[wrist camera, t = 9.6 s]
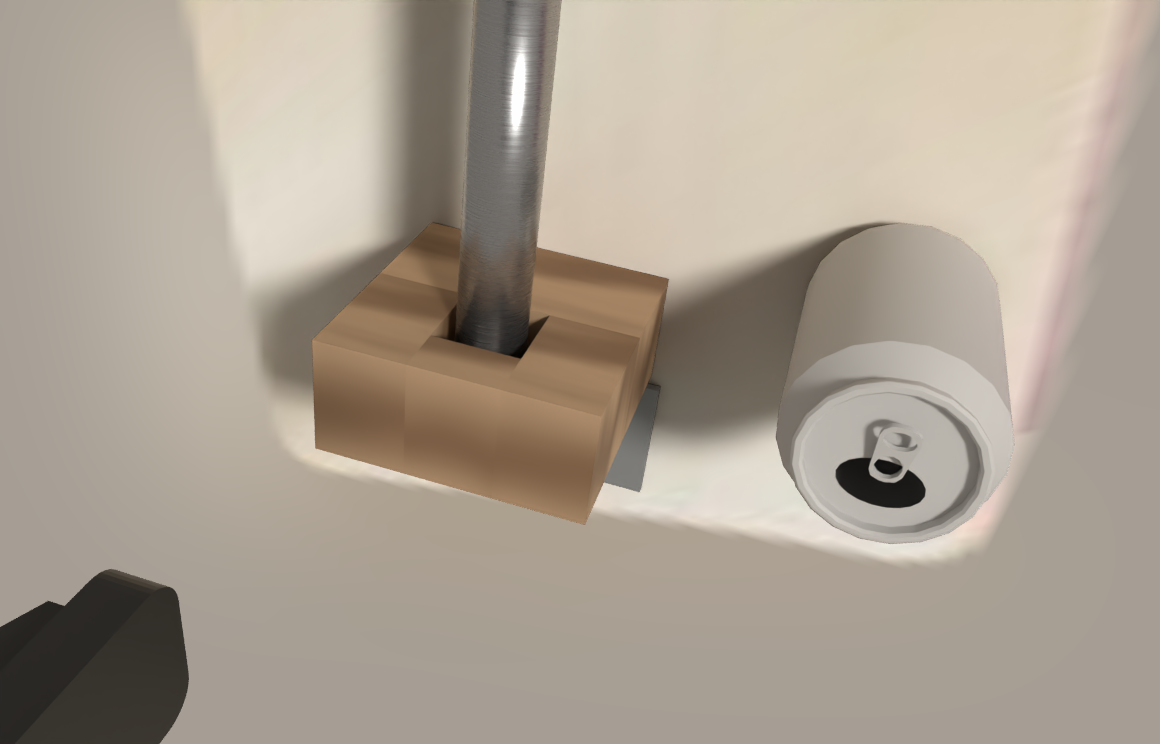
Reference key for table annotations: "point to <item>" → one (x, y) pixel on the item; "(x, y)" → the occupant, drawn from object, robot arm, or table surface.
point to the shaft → (504, 169)
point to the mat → (635, 444)
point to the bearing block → (489, 378)
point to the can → (898, 387)
